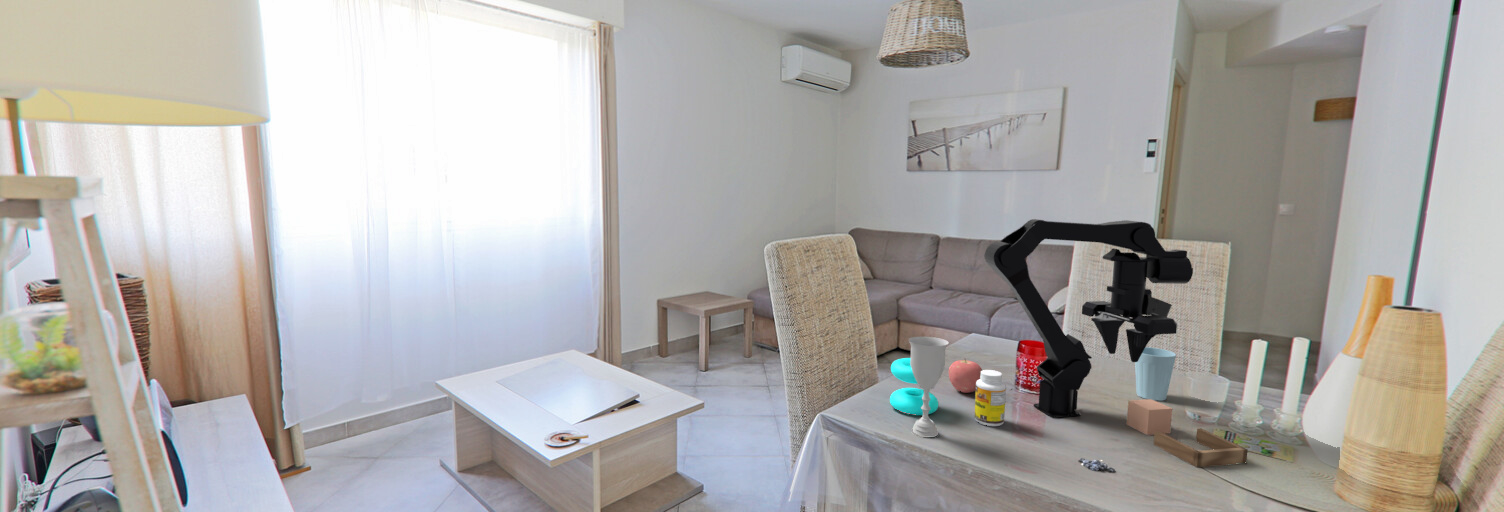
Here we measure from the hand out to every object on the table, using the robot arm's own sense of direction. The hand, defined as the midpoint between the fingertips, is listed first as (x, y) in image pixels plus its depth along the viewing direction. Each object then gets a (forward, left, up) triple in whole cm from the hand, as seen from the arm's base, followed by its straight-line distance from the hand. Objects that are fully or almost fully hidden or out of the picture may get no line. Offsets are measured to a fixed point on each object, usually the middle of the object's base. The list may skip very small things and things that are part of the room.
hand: (1122, 357), depth 119 cm
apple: (-25, +17, -12) cm, 33 cm away
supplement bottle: (-29, 0, -12) cm, 32 cm away
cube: (0, -8, -12) cm, 14 cm away
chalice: (-44, -3, -12) cm, 46 cm away
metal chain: (-21, -20, -13) cm, 32 cm away
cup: (+15, +8, -12) cm, 21 cm away
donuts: (-41, +9, -12) cm, 44 cm away
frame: (0, -18, -12) cm, 22 cm away
